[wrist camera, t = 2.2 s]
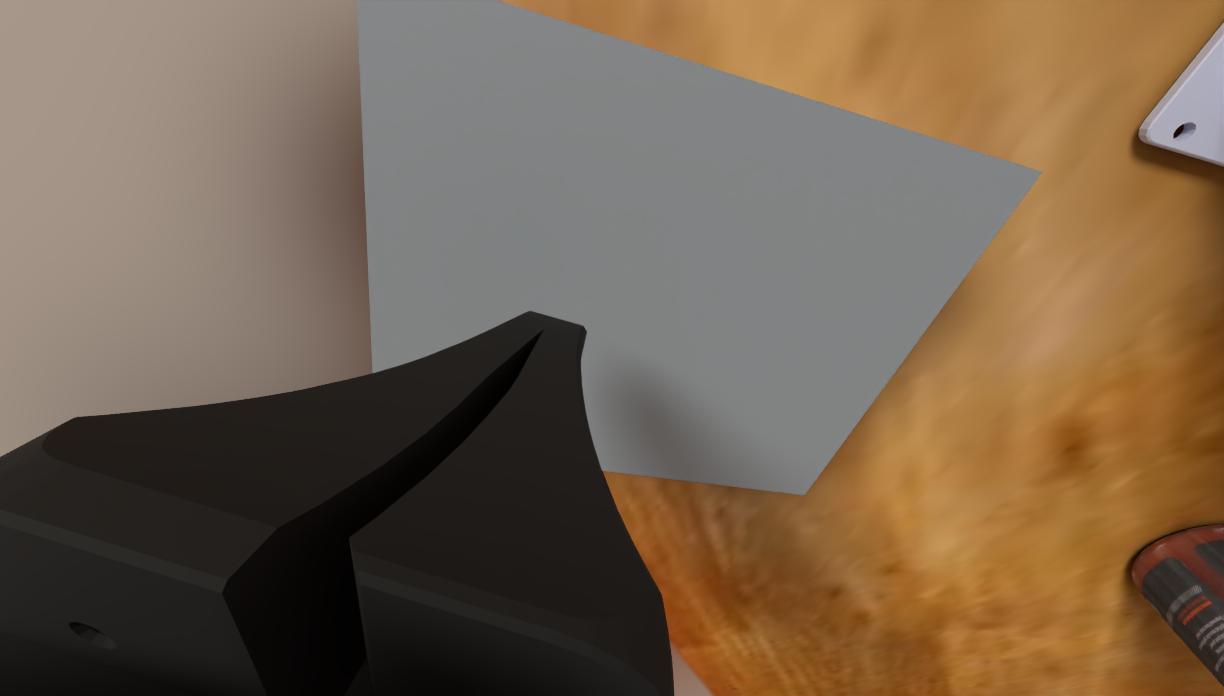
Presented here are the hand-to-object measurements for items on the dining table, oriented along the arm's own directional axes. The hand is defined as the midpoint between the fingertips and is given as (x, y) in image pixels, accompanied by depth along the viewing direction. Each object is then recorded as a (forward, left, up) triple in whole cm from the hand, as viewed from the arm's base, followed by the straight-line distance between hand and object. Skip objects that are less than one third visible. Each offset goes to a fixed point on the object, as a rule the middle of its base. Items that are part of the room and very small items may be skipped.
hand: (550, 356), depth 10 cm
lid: (-2, 0, -4) cm, 5 cm away
